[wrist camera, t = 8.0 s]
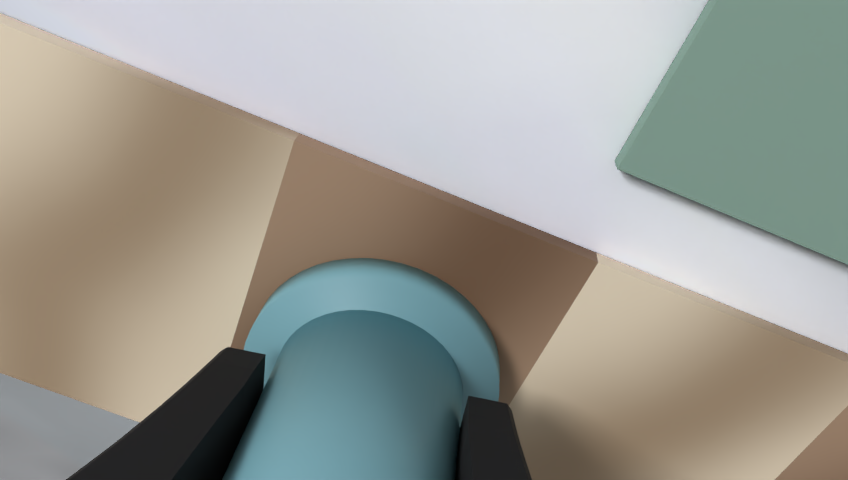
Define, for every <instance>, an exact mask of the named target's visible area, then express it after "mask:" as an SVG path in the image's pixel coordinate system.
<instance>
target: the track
mask: <svg viewBox="0 0 848 480" xmlns="http://www.w3.org/2000/svg"><path fill="white" fill-rule="evenodd" d="M348 258H373V259H383V260H389V261H394V262H398V263H403V264H406V265H409V266H412V267H415V268H418V269H421V270H423V271H425V272H427V273H429V274H432V275H434V276H436V277H437V278H439V279H441V280H442V281H444V282H446V283H447V284H449V285H451V286H452V287H453V288H454V289H456V290H457V291H458V292H460V293H461V294H462V295H463V296H464V297H465V298H466V299H467V300H468V301H469V302H470V303H471V304H472V305H473V306H474V307H475V308H476V309H477V311H478V312H479V313H480V314H481V316H482V317H483V318H484V320H485V322H486V323H487V325H488V327H489V329H490V330H491V332H492V335H493V338H494V340H495V343H496V346H497V350H498V355H499V365H500V383H499V400H498V402H502V403H507V404H508V406H509V407H510V408H511V410H512V413H513V417H514V421H515V425H516V429H517V433H518V437H519V440H520V444H521V447H522V450H523V454H524V457H525V460H526V463H527V466H528V469H529V472H530V475H531V478H532V480H848V354H847V353H844V352H842V351H839V350H837V349H834V348H832V347H830V346H827V345H825V344H822V343H820V342H817V341H815V340H812V339H810V338H807V337H805V336H802V335H800V334H797V333H795V332H792V331H790V330H787V329H785V328H782V327H780V326H777V325H775V324H772V323H770V322H767V321H765V320H762V319H760V318H757V317H755V316H752V315H750V314H747V313H745V312H742V311H740V310H737V309H735V308H732V307H730V306H728V305H725V304H723V303H720V302H718V301H715V300H713V299H710V298H708V297H705V296H703V295H700V294H698V293H695V292H693V291H690V290H688V289H685V288H683V287H680V286H678V285H675V284H673V283H670V282H668V281H665V280H663V279H660V278H658V277H655V276H653V275H650V274H648V273H645V272H643V271H640V270H638V269H635V268H633V267H630V266H628V265H626V264H623V263H621V262H618V261H616V260H613V259H611V258H608V257H606V256H603V255H601V254H598V253H596V252H593V251H591V250H588V249H586V248H583V247H581V246H578V245H576V244H573V243H571V242H568V241H566V240H563V239H561V238H558V237H556V236H553V235H551V234H548V233H546V232H543V231H541V230H538V229H536V228H533V227H531V226H528V225H526V224H524V223H521V222H519V221H516V220H514V219H511V218H509V217H506V216H504V215H501V214H499V213H496V212H494V211H491V210H489V209H486V208H484V207H481V206H479V205H476V204H474V203H471V202H469V201H466V200H464V199H461V198H459V197H456V196H454V195H451V194H449V193H446V192H444V191H441V190H439V189H436V188H434V187H431V186H429V185H426V184H424V183H422V182H419V181H417V180H414V179H412V178H409V177H407V176H404V175H402V174H399V173H397V172H394V171H392V170H389V169H387V168H384V167H382V166H379V165H377V164H374V163H372V162H369V161H367V160H364V159H362V158H359V157H357V156H354V155H352V154H349V153H347V152H344V151H342V150H339V149H337V148H334V147H332V146H329V145H327V144H324V143H322V142H320V141H317V140H315V139H312V138H310V137H307V136H305V135H302V134H300V133H297V132H295V131H292V130H290V129H287V128H285V127H282V126H280V125H277V124H275V123H272V122H270V121H267V120H265V119H262V118H260V117H257V116H255V115H252V114H250V113H247V112H245V111H242V110H240V109H237V108H235V107H232V106H230V105H227V104H225V103H222V102H220V101H218V100H215V99H213V98H210V97H208V96H205V95H203V94H200V93H198V92H195V91H193V90H190V89H188V88H185V87H183V86H180V85H178V84H175V83H173V82H170V81H168V80H165V79H163V78H160V77H158V76H155V75H153V74H150V73H148V72H145V71H143V70H140V69H138V68H135V67H133V66H130V65H128V64H125V63H123V62H120V61H118V60H116V59H113V58H111V57H108V56H106V55H103V54H101V53H98V52H96V51H93V50H91V49H88V48H86V47H83V46H81V45H78V44H76V43H73V42H71V41H68V40H66V39H63V38H61V37H58V36H56V35H53V34H51V33H48V32H46V31H43V30H41V29H38V28H36V27H33V26H31V25H28V24H26V23H23V22H21V21H18V20H16V19H14V18H11V17H9V16H6V15H4V14H1V13H0V373H2V374H5V375H8V376H11V377H13V378H16V379H19V380H22V381H25V382H28V383H30V384H33V385H36V386H39V387H42V388H44V389H47V390H50V391H53V392H56V393H59V394H61V395H64V396H67V397H70V398H73V399H75V400H78V401H81V402H84V403H87V404H90V405H92V406H95V407H98V408H101V409H104V410H106V411H109V412H112V413H115V414H118V415H121V416H123V417H126V418H129V419H132V420H135V421H137V422H141V421H142V420H144V419H145V418H146V417H147V416H148V415H150V414H151V413H152V412H153V411H154V410H156V409H157V408H158V407H159V406H161V405H162V404H163V403H164V402H165V401H166V400H167V399H169V398H170V397H171V396H172V395H173V394H174V393H175V392H177V391H178V390H179V389H180V388H181V387H182V386H183V385H184V384H186V383H187V382H188V381H189V380H190V379H191V378H192V377H193V376H194V375H196V374H197V373H198V372H199V371H200V370H201V369H202V368H203V367H204V366H205V365H206V364H207V363H208V362H210V361H211V360H212V359H213V358H214V357H215V356H216V355H217V354H218V353H219V352H220V351H222V350H223V349H225V348H227V347H231V348H236V349H241V350H244V346H245V342H246V339H247V337H248V335H249V332H250V330H251V328H252V326H253V324H254V322H255V321H256V319H257V317H258V315H259V313H260V311H261V309H262V308H263V306H264V305H265V303H266V302H267V300H268V298H269V297H270V296H271V295H272V294H273V293H274V292H275V290H276V289H277V288H278V287H279V286H281V285H282V284H283V283H284V282H286V281H287V280H288V279H289V278H291V277H293V276H294V275H296V274H298V273H299V272H301V271H303V270H305V269H308V268H310V267H313V266H315V265H318V264H322V263H325V262H329V261H333V260H340V259H348Z"/></svg>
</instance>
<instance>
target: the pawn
mask: <svg viewBox="0 0 848 480" xmlns="http://www.w3.org/2000/svg"><path fill="white" fill-rule="evenodd" d="M244 350H246V351H251V352H256V353H261V354H266V356H265V373H264V389H263V391H262V394H261V396H260V398H259V400H258V402H257V404H256V407H255V409H254V411H253V413H252V415H251V417H250V420H249V422H248V424H247V426H246V428H245V431H244V433H243V435H242V437H241V439H240V441H239V444H238V446H237V448H236V450H235V452H234V454H233V457H232V459H231V461H230V463H229V465H228V468H227V470H226V472H225V474H224V476H223V478H222V480H455V476H456V465H457V454H458V443H459V432H460V426H461V422H462V418H463V414H464V411H465V407H466V403H467V399H468V396H473V397H478V398H483V399H488V400H493V401H498V400H499V383H500V365H499V355H498V350H497V346H496V343H495V340H494V338H493V335H492V332H491V330H490V329H489V327H488V325H487V323H486V322H485V320H484V318H483V317H482V316H481V314H480V313H479V312H478V311H477V309H476V308H475V307H474V306H473V305H472V304H471V303H470V302H469V301H468V300H467V299H466V298H465V297H464V296H463V295H462V294H461V293H460V292H458V291H457V290H456V289H454V288H453V287H452V286H451V285H449V284H447V283H446V282H444V281H442V280H441V279H439V278H437V277H436V276H434V275H432V274H429V273H427V272H425V271H423V270H421V269H418V268H415V267H412V266H409V265H406V264H403V263H398V262H394V261H389V260H383V259H373V258H348V259H340V260H333V261H329V262H325V263H322V264H318V265H315V266H313V267H310V268H308V269H305V270H303V271H301V272H299V273H298V274H296V275H294V276H293V277H291V278H289V279H288V280H287V281H286V282H284V283H283V284H282V285H281V286H279V287H278V288H277V289H276V290H275V292H274V293H273V294H272V295H271V296H270V297H269V298H268V300H267V302H266V303H265V305H264V306H263V308H262V309H261V311H260V313H259V315H258V317H257V319H256V321H255V322H254V324H253V326H252V328H251V330H250V332H249V335H248V337H247V339H246V342H245V346H244Z"/></svg>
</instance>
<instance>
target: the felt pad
mask: <svg viewBox="0 0 848 480" xmlns="http://www.w3.org/2000/svg"><path fill="white" fill-rule="evenodd" d="M615 163H616V166H617V169H618V170H621V171H623V172H625V173H628V174H630V175H633V176H635V177H637V178H640V179H642V180H645V181H647V182H650V183H652V184H654V185H657V186H659V187H662V188H664V189H666V190H669V191H671V192H674V193H676V194H678V195H681V196H683V197H686V198H688V199H690V200H693V201H695V202H698V203H700V204H703V205H705V206H707V207H710V208H712V209H715V210H717V211H719V212H722V213H724V214H727V215H729V216H731V217H734V218H736V219H739V220H741V221H743V222H746V223H748V224H751V225H753V226H756V227H758V228H760V229H763V230H765V231H768V232H770V233H772V234H775V235H777V236H780V237H782V238H784V239H787V240H789V241H792V242H794V243H796V244H799V245H801V246H804V247H806V248H809V249H811V250H813V251H816V252H818V253H821V254H823V255H825V256H828V257H830V258H833V259H835V260H837V261H840V262H842V263H845V264H847V265H848V0H709V1H708V2H707V4H706V6H705V8H704V9H703V11H702V13H701V14H700V16H699V18H698V20H697V21H696V23H695V25H694V26H693V28H692V30H691V32H690V33H689V35H688V37H687V38H686V40H685V42H684V43H683V45H682V47H681V49H680V50H679V52H678V54H677V55H676V57H675V59H674V61H673V62H672V64H671V66H670V67H669V69H668V71H667V73H666V74H665V76H664V78H663V79H662V81H661V83H660V84H659V86H658V88H657V90H656V91H655V93H654V95H653V96H652V98H651V100H650V102H649V103H648V105H647V107H646V108H645V110H644V112H643V114H642V115H641V117H640V119H639V120H638V122H637V124H636V125H635V127H634V129H633V131H632V132H631V134H630V136H629V137H628V139H627V141H626V143H625V144H624V146H623V148H622V149H621V151H620V153H619V154H618V156H617V158H616V160H615Z"/></svg>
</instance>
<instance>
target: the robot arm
mask: <svg viewBox="0 0 848 480" xmlns="http://www.w3.org/2000/svg"><path fill="white" fill-rule="evenodd" d="M265 356H266V354H261V353H256V352H251V351H246V350H241V349H236V348H231V347H227V348H225V349H223V350H222V351H220V352H219V353H218V354H217V355H216V356H215V357H214V358H213V359H212V360H211V361H210V362H208V363H207V364H206V365H205V366H204V367H203V368H202V369H201V370H200V371H199V372H198V373H197V374H196V375H194V376H193V377H192V378H191V379H190V380H189V381H188V382H187V383H186V384H184V385H183V386H182V387H181V388H180V389H179V390H178V391H177V392H175V393H174V394H173V395H172V396H171V397H170V398H169V399H167V400H166V401H165V402H164V403H163V404H162V405H161V406H159V407H158V408H157V409H156V410H154V411H153V412H152V413H151V414H150V415H148V416H147V417H146V418H145V419H144V420H142V421H141V422H140V423H139V424H138V425H136V426H135V427H134V428H133V429H132V430H130V431H129V432H128V433H127V434H126V435H124V436H123V437H122V438H121V439H119V440H118V441H117V442H116V443H114V444H113V445H112V446H110V447H109V448H108V449H106V450H105V451H104V452H102V453H101V454H100V455H98V456H97V457H96V458H94V459H93V460H92V461H90V462H89V463H88V464H86V465H85V466H84V467H82V468H81V469H80V470H78V471H77V472H76V473H74V474H73V475H72V476H70V477H69V478H68V479H66V480H222V478H223V476H224V474H225V472H226V470H227V468H228V465H229V463H230V461H231V459H232V457H233V454H234V452H235V450H236V448H237V446H238V444H239V441H240V439H241V437H242V435H243V433H244V431H245V428H246V426H247V424H248V422H249V420H250V417H251V415H252V413H253V411H254V409H255V407H256V404H257V402H258V400H259V398H260V396H261V394H262V391H263V389H264V373H265ZM455 480H532V478H531V475H530V472H529V469H528V466H527V463H526V460H525V457H524V454H523V450H522V447H521V444H520V440H519V437H518V433H517V429H516V425H515V421H514V417H513V413H512V410H511V408H510V407H509V406H508V404H507V403H502V402H498V401H493V400H488V399H483V398H478V397H473V396H468V399H467V403H466V407H465V411H464V414H463V418H462V422H461V426H460V432H459V443H458V454H457V465H456V476H455Z"/></svg>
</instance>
